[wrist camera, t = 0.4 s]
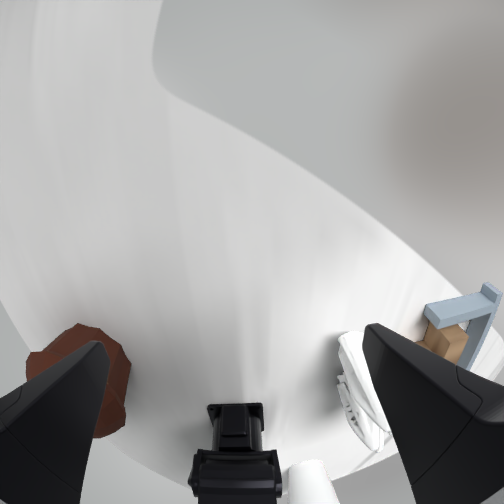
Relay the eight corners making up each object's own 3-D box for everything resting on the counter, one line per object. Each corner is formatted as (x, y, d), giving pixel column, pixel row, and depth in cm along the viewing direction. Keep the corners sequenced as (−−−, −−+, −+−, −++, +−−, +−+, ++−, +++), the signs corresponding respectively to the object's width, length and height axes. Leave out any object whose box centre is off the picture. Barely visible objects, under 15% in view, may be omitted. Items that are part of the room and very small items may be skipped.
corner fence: (450, 374, 30) (459, 387, 27) (394, 394, 30) (401, 409, 27) (488, 281, 24) (502, 293, 21) (428, 294, 24) (443, 309, 21)
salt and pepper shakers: (331, 323, 25) (371, 417, 14) (372, 312, 25) (425, 395, 14) (335, 396, 29) (359, 471, 19) (367, 386, 29) (397, 458, 19)
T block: (427, 369, 29) (441, 391, 25) (370, 385, 29) (381, 411, 25) (448, 314, 26) (468, 336, 21) (386, 328, 25) (404, 356, 21)
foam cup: (271, 466, 37) (276, 529, 25) (320, 451, 35) (334, 516, 23) (293, 478, 40) (300, 531, 28) (337, 464, 38) (350, 519, 26)
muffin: (162, 378, 27) (142, 454, 18) (102, 395, 29) (78, 454, 19) (90, 295, 23) (37, 364, 14) (39, 328, 24) (-3, 383, 15)
